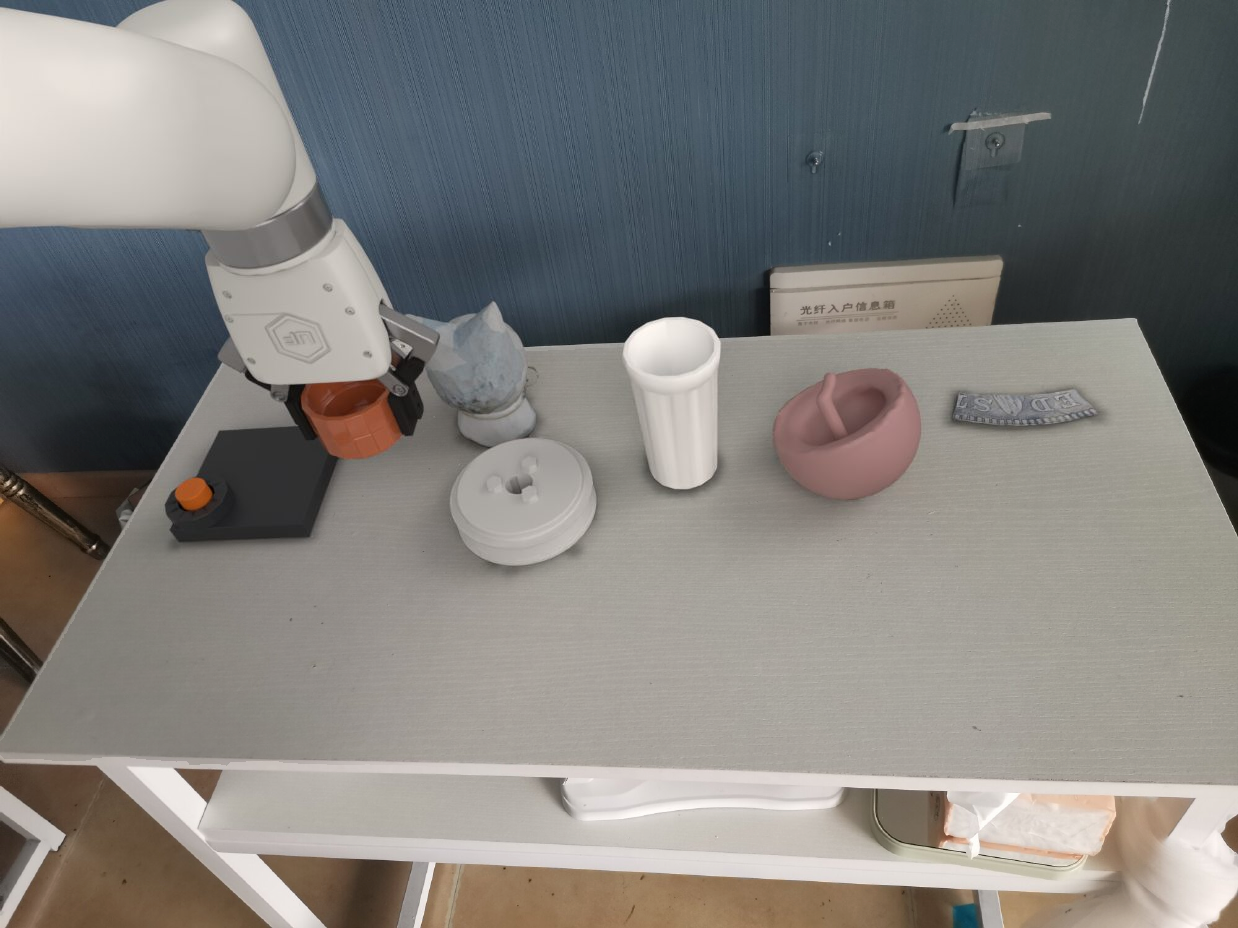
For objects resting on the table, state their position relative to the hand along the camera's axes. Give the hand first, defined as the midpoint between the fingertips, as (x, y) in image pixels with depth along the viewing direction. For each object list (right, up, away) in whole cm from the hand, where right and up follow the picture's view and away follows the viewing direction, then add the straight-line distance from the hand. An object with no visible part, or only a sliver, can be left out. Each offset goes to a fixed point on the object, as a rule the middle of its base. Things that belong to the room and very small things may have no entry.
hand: (364, 424), depth 67 cm
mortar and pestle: (+39, -4, +11) cm, 41 cm away
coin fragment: (+56, +2, +14) cm, 58 cm away
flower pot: (0, 0, +1) cm, 1 cm away
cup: (+25, -3, +14) cm, 29 cm away
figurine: (+7, +2, +22) cm, 23 cm away
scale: (-15, -5, +19) cm, 25 cm away
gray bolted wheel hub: (+11, -8, +13) cm, 19 cm away
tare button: (-20, -6, +15) cm, 26 cm away
